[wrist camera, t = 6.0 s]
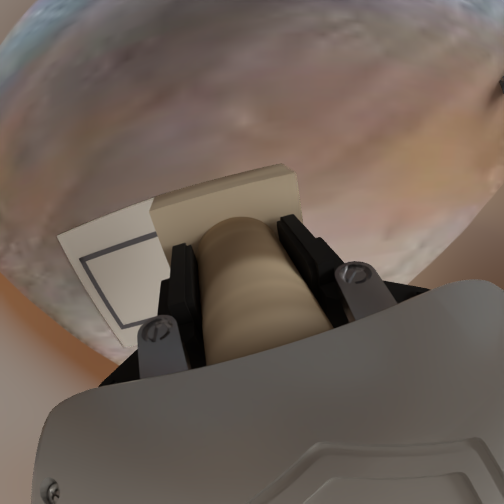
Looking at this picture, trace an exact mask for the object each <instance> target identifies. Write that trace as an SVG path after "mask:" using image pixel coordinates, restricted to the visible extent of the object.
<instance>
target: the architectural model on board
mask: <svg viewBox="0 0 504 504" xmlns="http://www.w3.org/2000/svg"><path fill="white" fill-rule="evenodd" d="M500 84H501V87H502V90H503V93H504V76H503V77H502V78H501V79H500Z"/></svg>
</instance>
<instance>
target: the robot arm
mask: <svg viewBox="0 0 504 504" xmlns="http://www.w3.org/2000/svg"><path fill="white" fill-rule="evenodd" d="M277 230H278V236H279V241H280V243H281V244H282V246H283V247H284V249H285V250H286V252H287V254H288V255H289V257H290V258H291V260H292V261H293V263H294V265H295V266H296V268H297V269H298V271H299V272H300V274H301V276H302V277H303V279H304V280H305V282H306V284H307V285H308V287H309V288H310V290H311V292H312V293H313V295H314V297H315V298H316V300H317V301H318V303H319V305H320V306H321V308H322V310H323V311H324V313H325V315H326V316H327V318H328V319H329V321H330V323H331V324H332V326H333V328H334V329H331V330H328V331H326V332H323V333H320V334H317V335H314V336H311V337H308V338H305V339H302V340H299V341H296V342H292V343H289V344H286V345H283V346H279V347H276V348H273V349H269V350H266V351H262V352H259V353H255V354H252V355H248V356H244V357H241V358H237V359H233V360H229V361H225V362H221V363H217V364H213V365H208V366H206V358H205V348H204V339H203V329H202V317H201V305H200V293H199V280H198V266H197V260H196V257H195V254H194V251H193V248H192V245H188V246H187V245H186V243H182V244H178V245H175V246H173V247H172V256H171V267H170V278H168V279H165V280H162V281H161V285H160V294H159V303H158V313H157V316H155V317H152V318H150V319H149V320H147V321H146V322H144V323H143V325H142V326H141V327H140V328H139V330H138V334H137V343H138V349H137V350H136V351H135V352H134V353H133V354H132V355H131V356H130V357H129V358H127V359H126V360H125V361H124V362H123V363H122V364H121V365H120V366H119V367H118V368H117V369H116V370H115V371H114V372H113V373H111V375H109V376H108V377H107V378H106V379H105V380H104V381H103V382H102V383H101V384H100V385H99V387H98V388H93V389H90V390H86V391H84V392H81V393H79V394H76V395H74V396H72V397H70V398H68V399H66V400H64V401H62V402H61V403H59V404H58V405H57V406H55V407H54V408H53V409H52V411H51V412H50V413H49V415H48V417H47V419H46V421H45V423H44V426H43V428H42V432H41V435H40V439H39V443H38V447H37V452H36V458H35V464H34V472H33V480H32V496H31V504H504V291H503V290H502V289H500V288H499V287H498V286H496V285H494V284H493V283H490V282H488V281H484V280H463V281H457V282H453V283H449V284H446V285H443V286H440V287H437V288H434V289H432V290H430V289H427V288H421V287H416V286H410V285H405V284H399V283H394V282H388V281H382V279H381V278H380V276H379V275H378V273H377V272H376V270H375V269H374V268H373V267H372V266H371V265H369V264H367V263H364V262H357V261H353V262H347V263H344V262H343V261H342V260H341V259H340V258H339V256H338V255H337V254H336V253H335V252H334V251H333V250H332V249H331V248H330V247H329V245H328V244H327V243H326V242H325V241H324V240H323V239H322V238H321V237H318V238H315V237H314V236H313V235H312V234H311V233H310V232H309V230H308V229H307V228H306V227H305V226H304V225H303V224H302V223H301V222H300V220H299V219H298V218H297V217H296V216H295V215H294V214H290V215H286V216H282V217H280V221H277Z"/></svg>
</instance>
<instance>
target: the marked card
mask: <svg viewBox="0 0 504 504" xmlns="http://www.w3.org/2000/svg"><path fill="white" fill-rule="evenodd" d="M153 200H154V198H151V199H148V200H145V201H142V202H140V203H137V204H134V205H131V206H129V207H126V208H123V209H121V210H118V211H115V212H113V213H110V214H108V215H105V216H102V217H100V218H97V219H95V220H92V221H90V222H88V223H85V224H83V225H80V226H78V227H76V228H73V229H71V230H69V231H66V232H64V233H62V234H59V235H58V236H57V238H58V240H59V242H60V244H61V246H62V248H63V250H64V252H65V253H66V255H67V257H68V259H69V261H70V263H71V265H72V266H73V268H74V270H75V272H76V274H77V275H78V277H79V279H80V280H81V282H82V284H83V286H84V287H85V289H86V291H87V292H88V294H89V295H90V297H91V299H92V300H93V302H94V303H95V305H96V307H97V308H98V310H99V311H100V313H101V314H102V316H103V317H104V319H105V320H106V322H107V323H108V325H109V326H110V327H111V329H112V330H113V332H114V333H115V335H116V336H117V337H118V339H119V340H120V342H121V343H122V344H123V346H124V347H125V348H127V347H131V346H136V345H138V343H137V334H138V330H139V328H140V327H141V326H142V325H143V323H144V322H146V321H147V320H149V319H150V318H152V317H155V316H157V313H158V303H159V294H160V285H161V281H162V280H165V279H168V278H170V267H169V264H168V262H167V259H166V257H165V254H164V251H163V249H162V246H161V244H160V241H159V238H158V236H157V233H156V230H155V228H154V225H153V222H152V219H151V216H150V214H149V210H150V207H151V205H152V202H153Z"/></svg>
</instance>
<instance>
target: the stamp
mask: <svg viewBox="0 0 504 504" xmlns="http://www.w3.org/2000/svg"><path fill="white" fill-rule="evenodd" d="M149 214H150V216H151V219H152V222H153V225H154V228H155V230H156V233H157V236H158V238H159V241H160V244H161V246H162V249H163V251H164V254H165V257H166V259H167V262H168V264H169V267H171V256H172V247H173V246H175V245H178V244H182V243H186V245H187V246H188V245H192V248H193V251H194V254H195V257H196V260H197V266H198V280H199V293H200V305H201V317H202V329H203V339H204V348H205V358H206V366H208V365H213V364H217V363H221V362H225V361H229V360H233V359H237V358H241V357H244V356H248V355H252V354H255V353H259V352H262V351H266V350H269V349H273V348H276V347H279V346H283V345H286V344H289V343H292V342H296V341H299V340H302V339H305V338H308V337H311V336H314V335H317V334H320V333H323V332H326V331H328V330H331V329H334V328H333V326H332V324H331V323H330V321H329V319H328V318H327V316H326V315H325V313H324V311H323V310H322V308H321V306H320V305H319V303H318V301H317V300H316V298H315V297H314V295H313V293H312V292H311V290H310V288H309V287H308V285H307V284H306V282H305V280H304V279H303V277H302V276H301V274H300V272H299V271H298V269H297V268H296V266H295V265H294V263H293V261H292V260H291V258H290V257H289V255H288V254H287V252H286V250H285V249H284V247H283V246H282V244H281V243H280V241H279V236H278V230H277V221H280V217H282V216H286V215H290V214H294V215H295V216H296V217H297V218H298V219H299V220H300V222H301V223H302V224H303V220H302V212H301V205H300V197H299V190H298V183H297V177H296V172H294V171H293V170H291V169H289V168H288V167H286V166H285V165H283V164H282V163H281V164H276V165H272V166H267V167H263V168H258V169H254V170H250V171H246V172H242V173H238V174H234V175H230V176H226V177H222V178H218V179H214V180H210V181H207V182H203V183H200V184H196V185H192V186H189V187H185V188H182V189H179V190H175V191H172V192H168V193H165V194H162V195H159V196H156V197H154V200H153V202H152V205H151V207H150V210H149Z"/></svg>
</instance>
